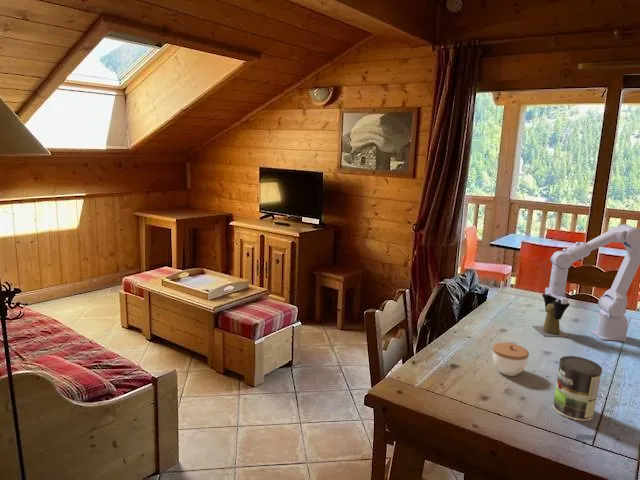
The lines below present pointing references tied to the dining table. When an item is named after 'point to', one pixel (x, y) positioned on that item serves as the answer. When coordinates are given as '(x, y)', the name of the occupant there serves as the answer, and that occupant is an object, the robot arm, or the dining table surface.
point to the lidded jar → (509, 358)
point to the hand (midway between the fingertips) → (553, 315)
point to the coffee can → (577, 388)
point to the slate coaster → (540, 330)
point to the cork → (551, 321)
